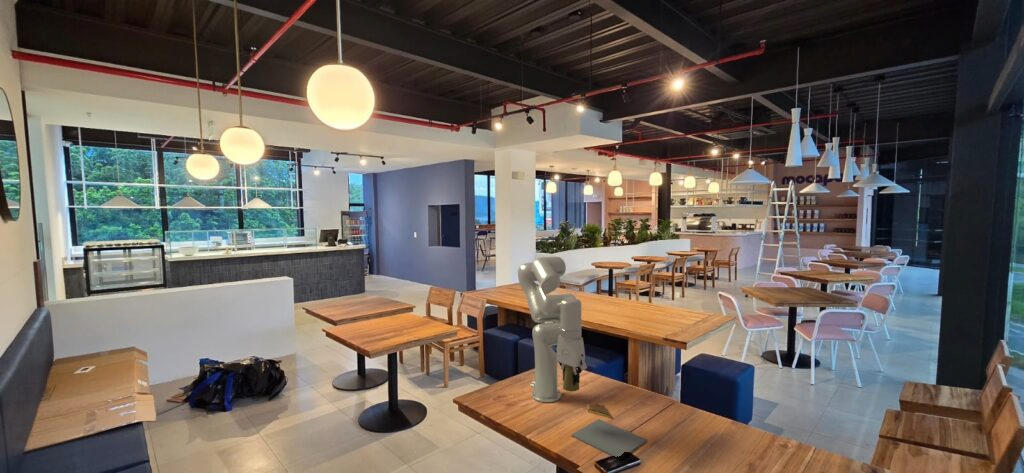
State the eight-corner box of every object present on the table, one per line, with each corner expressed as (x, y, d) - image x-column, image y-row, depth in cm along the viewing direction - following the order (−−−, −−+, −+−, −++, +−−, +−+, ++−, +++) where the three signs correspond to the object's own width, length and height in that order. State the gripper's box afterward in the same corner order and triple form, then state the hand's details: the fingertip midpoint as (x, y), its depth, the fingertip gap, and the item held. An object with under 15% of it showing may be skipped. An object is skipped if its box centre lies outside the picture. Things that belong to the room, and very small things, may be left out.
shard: (612, 420, 160) (612, 415, 160) (592, 421, 160) (592, 416, 160) (603, 407, 171) (603, 402, 171) (584, 408, 170) (584, 403, 170)
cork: (561, 384, 157) (561, 355, 156) (577, 383, 157) (577, 355, 157) (564, 391, 151) (564, 361, 150) (581, 391, 151) (581, 361, 151)
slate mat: (571, 436, 149) (571, 434, 149) (598, 420, 159) (598, 418, 159) (620, 460, 134) (620, 458, 134) (646, 441, 144) (646, 439, 144)
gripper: (546, 330, 156) (547, 378, 158) (582, 340, 144) (582, 392, 145) (560, 326, 162) (560, 372, 163) (596, 335, 149) (596, 386, 150)
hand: (571, 381), depth 154 cm, fingers closed on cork, 3 cm apart
